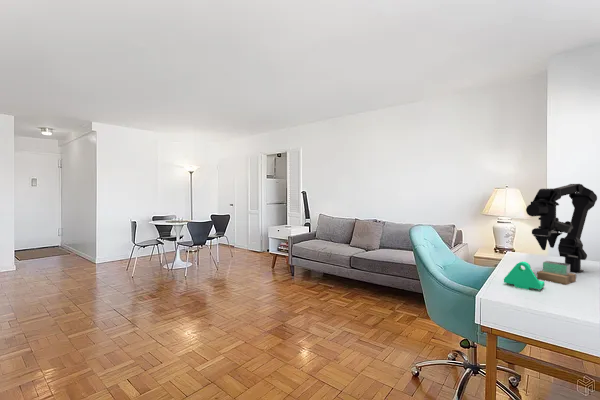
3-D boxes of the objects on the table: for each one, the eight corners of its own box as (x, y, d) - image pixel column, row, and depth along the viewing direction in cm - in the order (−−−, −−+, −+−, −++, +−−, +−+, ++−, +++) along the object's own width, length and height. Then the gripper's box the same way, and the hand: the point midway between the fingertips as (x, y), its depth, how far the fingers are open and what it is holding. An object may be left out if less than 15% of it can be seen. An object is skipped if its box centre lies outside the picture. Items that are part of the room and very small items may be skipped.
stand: (547, 275, 137) (547, 268, 137) (575, 281, 129) (575, 274, 128) (536, 278, 132) (537, 271, 132) (565, 284, 124) (565, 277, 124)
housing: (546, 270, 135) (546, 260, 135) (570, 273, 129) (570, 264, 129) (542, 271, 132) (543, 262, 132) (566, 275, 126) (566, 265, 126)
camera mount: (544, 288, 120) (545, 262, 120) (540, 292, 115) (540, 265, 115) (509, 281, 129) (509, 257, 129) (503, 285, 124) (504, 260, 124)
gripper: (562, 218, 128) (561, 254, 129) (578, 215, 138) (577, 249, 138) (531, 216, 138) (531, 250, 138) (548, 213, 147) (548, 245, 148)
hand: (548, 248), depth 140 cm, fingers open, 9 cm apart
